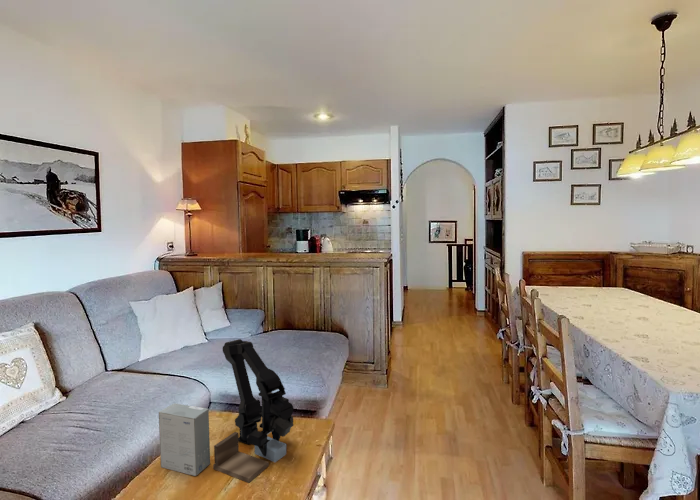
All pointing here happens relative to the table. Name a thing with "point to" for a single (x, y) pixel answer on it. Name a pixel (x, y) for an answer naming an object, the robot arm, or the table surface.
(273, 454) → the grey rectangular block
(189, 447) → the hard drive box
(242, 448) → the table surface
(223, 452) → the walnut shelf
